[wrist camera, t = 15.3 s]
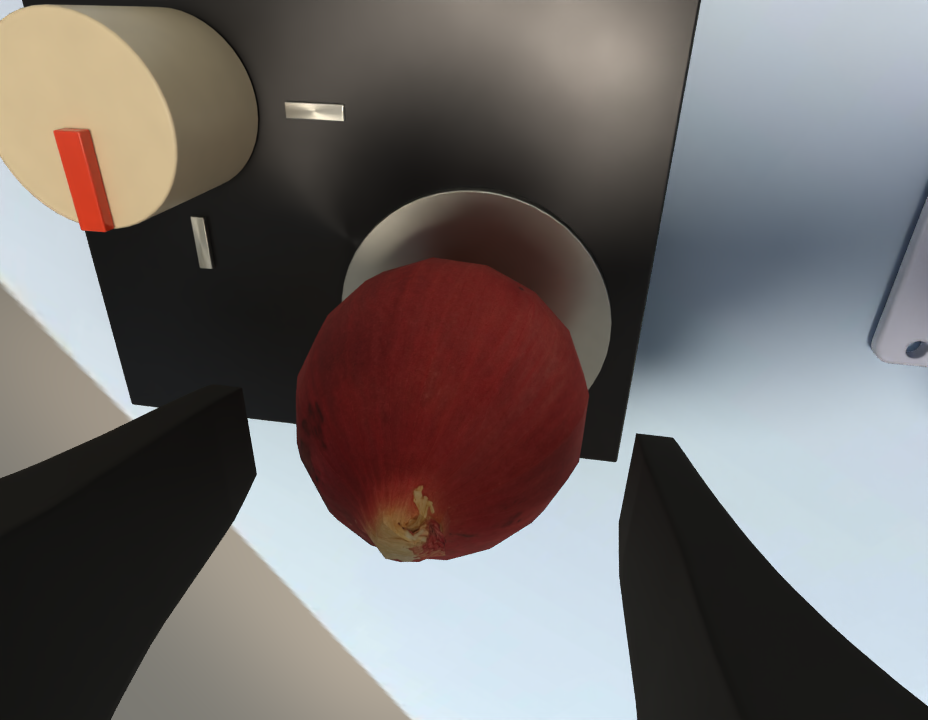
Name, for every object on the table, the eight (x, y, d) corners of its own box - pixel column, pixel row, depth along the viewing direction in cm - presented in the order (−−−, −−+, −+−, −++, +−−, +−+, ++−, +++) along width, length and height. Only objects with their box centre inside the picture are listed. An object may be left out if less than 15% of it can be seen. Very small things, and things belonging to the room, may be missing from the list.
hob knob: (78, 5, 14) (-74, 2, 11) (245, 8, 14) (138, 5, 10) (122, 184, 16) (5, 227, 13) (269, 193, 16) (186, 240, 12)
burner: (631, 197, 14) (632, 200, 14) (592, 445, 18) (592, 452, 17) (335, 177, 15) (331, 180, 15) (352, 417, 19) (349, 423, 18)
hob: (698, -87, 14) (723, -108, 11) (612, 414, 20) (616, 466, 18) (50, -93, 16) (-41, -113, 13) (159, 364, 22) (110, 405, 20)
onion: (463, 453, 18) (391, 723, 11) (317, 311, 17) (130, 521, 10) (631, 342, 16) (672, 600, 9) (476, 163, 14) (378, 303, 7)
